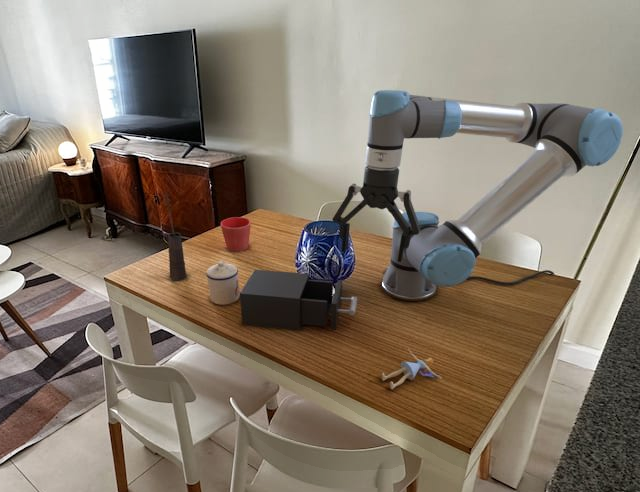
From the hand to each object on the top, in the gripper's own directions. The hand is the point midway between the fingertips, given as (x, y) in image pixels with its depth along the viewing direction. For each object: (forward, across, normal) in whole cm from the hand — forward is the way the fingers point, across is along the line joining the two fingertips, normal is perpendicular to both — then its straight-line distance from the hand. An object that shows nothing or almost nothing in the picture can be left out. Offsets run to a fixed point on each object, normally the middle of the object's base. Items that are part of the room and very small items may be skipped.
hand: (371, 254), depth 110 cm
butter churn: (+22, -61, +5) cm, 65 cm away
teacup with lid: (+22, -42, 0) cm, 47 cm away
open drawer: (+19, -12, -2) cm, 23 cm away
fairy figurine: (+20, +14, -18) cm, 30 cm away
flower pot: (+21, -55, +33) cm, 67 cm away
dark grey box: (+21, -23, -4) cm, 31 cm away
